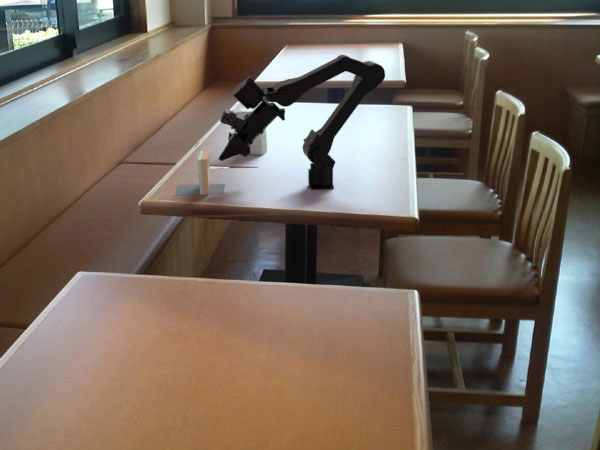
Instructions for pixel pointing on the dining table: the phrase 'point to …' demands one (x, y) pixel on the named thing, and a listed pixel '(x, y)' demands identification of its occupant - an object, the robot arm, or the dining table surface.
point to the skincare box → (260, 141)
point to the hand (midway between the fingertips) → (219, 159)
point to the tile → (204, 172)
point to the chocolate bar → (228, 167)
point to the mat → (196, 189)
